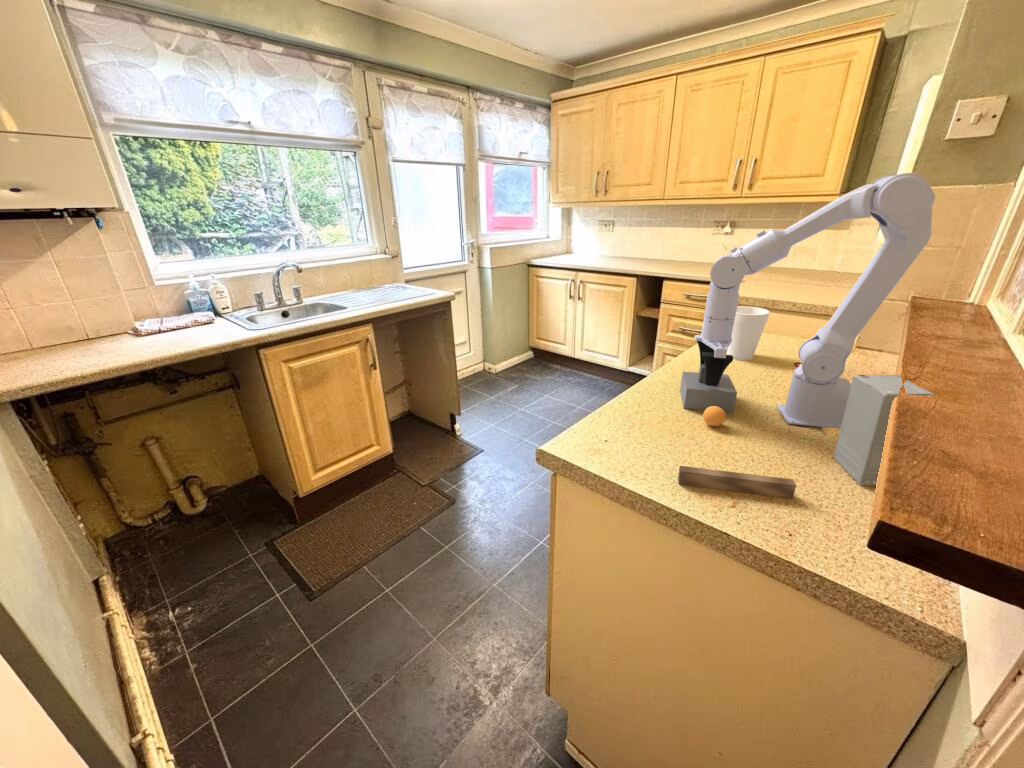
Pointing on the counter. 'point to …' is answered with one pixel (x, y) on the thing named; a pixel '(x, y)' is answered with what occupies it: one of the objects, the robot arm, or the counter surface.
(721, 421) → the ball
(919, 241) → the robot arm
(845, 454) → the skincare box
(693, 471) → the stopper
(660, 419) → the counter surface
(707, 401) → the grey stemmed block
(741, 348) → the foam cup
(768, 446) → the counter surface
